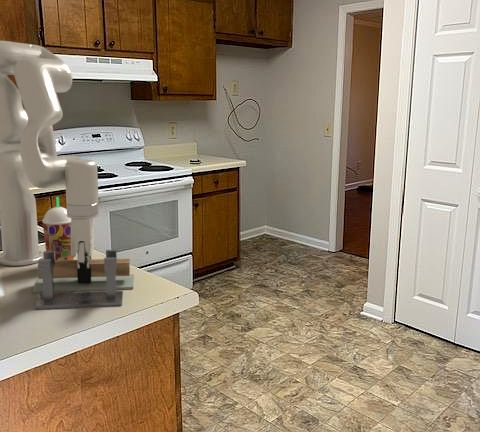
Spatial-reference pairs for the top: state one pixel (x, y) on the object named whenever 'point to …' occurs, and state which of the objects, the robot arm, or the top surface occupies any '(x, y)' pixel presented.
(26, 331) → the top surface
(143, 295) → the top surface
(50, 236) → the smoothie
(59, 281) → the mat
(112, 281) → the stand
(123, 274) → the rail
